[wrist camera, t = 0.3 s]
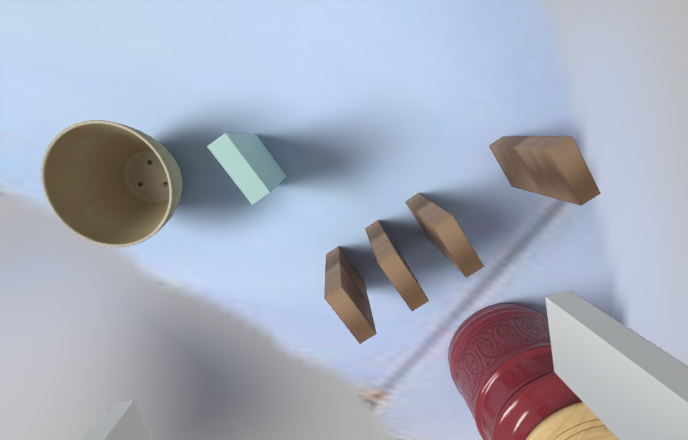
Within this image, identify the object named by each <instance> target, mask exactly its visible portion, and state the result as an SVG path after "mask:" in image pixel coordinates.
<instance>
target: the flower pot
mask: <svg viewBox="0 0 688 440" xmlns="http://www.w3.org/2000/svg"><path fill="white" fill-rule="evenodd" d="M148 161H150V165H149V163H148ZM41 180H42V186H43V191H44V194H45V197H46V199H47V201H48V203H49V205H50V207H51V209H52V210H53V212H54V213H55V215H56V216H57V217H58V219H59V220H60V221H61V222H62V223H63V224H64V225H65V226H66V227H67V228H68V229H70V230H71V231H72V232H74V233H75V234H77V235H78V236H80V237H81V238H83V239H85V240H88V241H90V242H93V243H95V244H99V245H103V246H108V247H126V246H132V245H135V244H138V243H141V242H143V241H145V240H147V239H149V238H150V237H152V236H153V235H154V234H155V233H157V232H158V231H159V230H160V229H161V228H162V227H163V226H164V225H165V224H166V223H167V222H168V221H169V219H170V218H171V217H172V215H173V214H174V212H175V210H176V208H177V206H178V204H179V202H180V199H181V195H182V188H183V180H182V174H181V170H180V168H179V165H178V163H177V162H176V160H175V159H174V157H173V156H172V155H171V153H170V152H169V151H168V150H167V149H166V148H165V147H164V146H163V145H161V144H160V143H159V142H158V141H156V140H155V139H153V138H152V137H150V136H148V135H147V134H145V133H143V132H141V131H139V130H136V129H134V128H131V127H129V126H126V125H122V124H119V123H114V122H110V121H104V120H91V121H84V122H80V123H77V124H74V125H72V126H70V127H68V128H66V129H65V130H63V131H62V132H60V133H59V134H58V135H57V136H56V137H55V138H54V139H53V140H52V142H51V143H50V145H49V146H48V148H47V150H46V153H45V155H44V158H43V162H42V169H41ZM165 182H166V183H167V184H165ZM141 184H143V185H142V186H141Z"/></svg>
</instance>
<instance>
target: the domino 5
mask: <svg viewBox="0 0 688 440" xmlns="http://www.w3.org/2000/svg"><path fill="white" fill-rule="evenodd" d="M489 147H490V148H491V150H492V152H493V154H494V156H495V157H496V159H497V161H498V163H499V164H500V166H501V168H502V170H503V172H504V173H505V175H506V177H507V179H508V181H509V182H510V184H511V186H512V187H515V188H519V189H523V190H526V191H530V192H534V193H537V194H541V195H545V196H548V197H552V198H556V199H559V200H563V201H567V202H570V203H574V204H578V205H583V204H584V203H586V202H588V201H589V200H591V199H592V198H594V197H596V196H597V195H599V194H600V192H599V189H598V187H597V185H596V183H595V181H594V179H593V177H592V175H591V173H590V171H589V169H588V167H587V165H586V163H585V161H584V159H583V157H582V155H581V153H580V151H579V149H578V147H577V145H576V143H575V141H574V139H573V137H572V136H525V137H502V138H500V139H499V140H497V141H496V142H494V143H493V144H491V145H490V146H489Z"/></svg>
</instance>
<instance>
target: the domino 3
mask: <svg viewBox="0 0 688 440" xmlns="http://www.w3.org/2000/svg"><path fill="white" fill-rule="evenodd" d="M365 230H366V233H367V235H368V238H369V241H370V243H371V246H372V249H373V252H374V254H375V257H376V260H377V262H378V264H379V266H380V267H381V268H382V270H383V271H384V273H385V274H386V275H387V277H388V278H389V280H390V281H391V282H392V284H393V285H394V287H395V288H396V290H397V291H398V292H399V294H400V295H401V297H402V298H403V299H404V301H405V302H406V304H407V305H408V307H409V308H410V309H411V311H414V310H415V309H417V308H418V307H420V306H422V305H423V304H425V303H426V302H428V301H429V300H428V298H427V296H426V295H425V293H424V291H423V290H422V288H421V286H420V285H419V283H418V281H417V280H416V278H415V276H414V275H413V273H412V271H411V270H410V268H409V266H408V265H407V263H406V261H405V260H404V258H403V256H402V255H401V254H400V252H399V251H398V249H397V248H396V246H395V245H394V243H393V242H392V240H391V239H390V237H389V236H388V235H387V233H386V232H385V230H384V229H383V227H382V226H381V224H380V223H379V221H378V220H377V221H376V222H374V223H373V224H371V225H370V226H368V227H367V228H365Z"/></svg>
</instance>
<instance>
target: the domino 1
mask: <svg viewBox="0 0 688 440" xmlns="http://www.w3.org/2000/svg"><path fill="white" fill-rule="evenodd" d="M207 147H208V149H209V150H210V151H211V152H212V154H213V155H214V156H215V158H216V159H217V160H218V162H219V163H220V164H221V165H222V167H223V168H224V169H225V171H226V172H227V173H228V174H229V176H230V177H231V178H232V180H233V181H234V182H235V183H236V185H237V186H238V187H239V189H240V190H241V191H242V192H243V194H244V195H245V196H246V198H247V199H248V200H249V202H250V203H251V204H252V205H253V204H254V203H256V202H257V201H259V200H260V199H261V198H263V197H264V196H266V195H267V194H269V193H270V192H271V191H272V190H273V189H274V188H275V187H276V186H278V185H279V184H280V183H281V182H282V181H283V180H284V179H285V178H286V177H287V175H286V174H285V173H284V171H283V170H282V169H281V167H280V166H279V164H278V163H277V162H276V160H275V159H274V158H273V156H272V155H271V154H270V152H269V151H268V149H267V148H266V147H265V145H264V144H263V143H262V141H261V140H260V138H259V137H258V136H257V134H241V133H224V134H223V135H222V136H220V137H219V138H218V139H216V140H215V141H214V142H212V143H211V144H210V145H208V146H207Z"/></svg>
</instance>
